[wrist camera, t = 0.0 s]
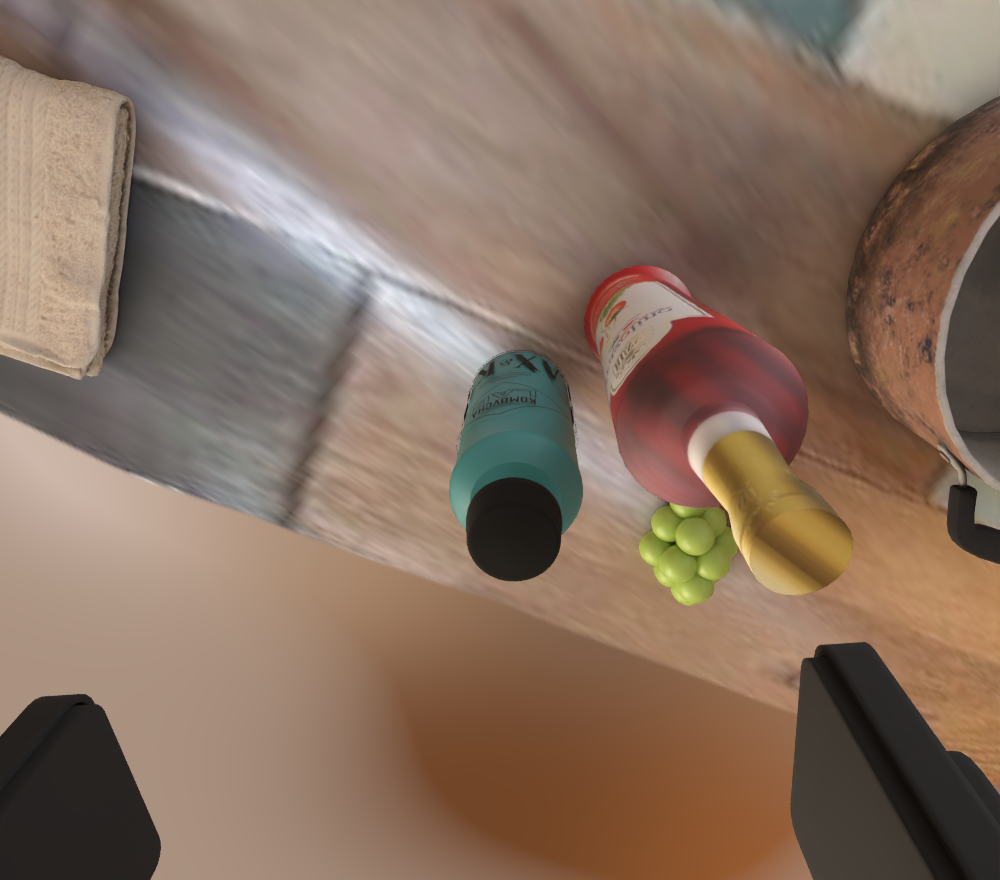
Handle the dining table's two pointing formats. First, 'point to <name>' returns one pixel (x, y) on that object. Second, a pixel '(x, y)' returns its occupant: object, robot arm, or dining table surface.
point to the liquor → (714, 424)
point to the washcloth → (61, 218)
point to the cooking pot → (939, 309)
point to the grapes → (689, 550)
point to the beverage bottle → (517, 467)
